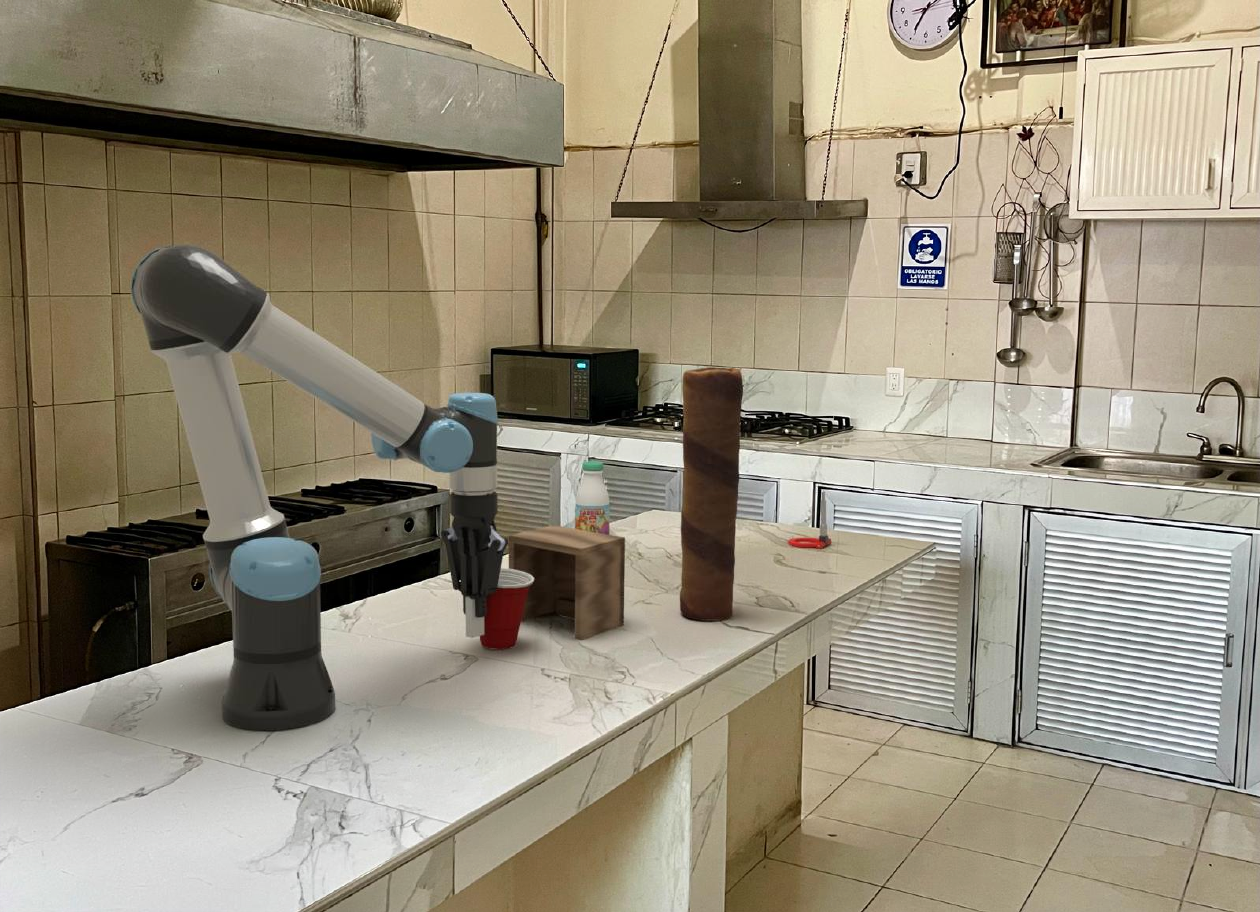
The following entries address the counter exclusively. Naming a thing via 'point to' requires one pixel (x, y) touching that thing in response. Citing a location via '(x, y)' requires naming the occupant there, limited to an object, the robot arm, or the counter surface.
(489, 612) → the plastic cup
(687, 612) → the wafer roll
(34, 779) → the counter surface
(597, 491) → the milk bottle
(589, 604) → the open wooden crate
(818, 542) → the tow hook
